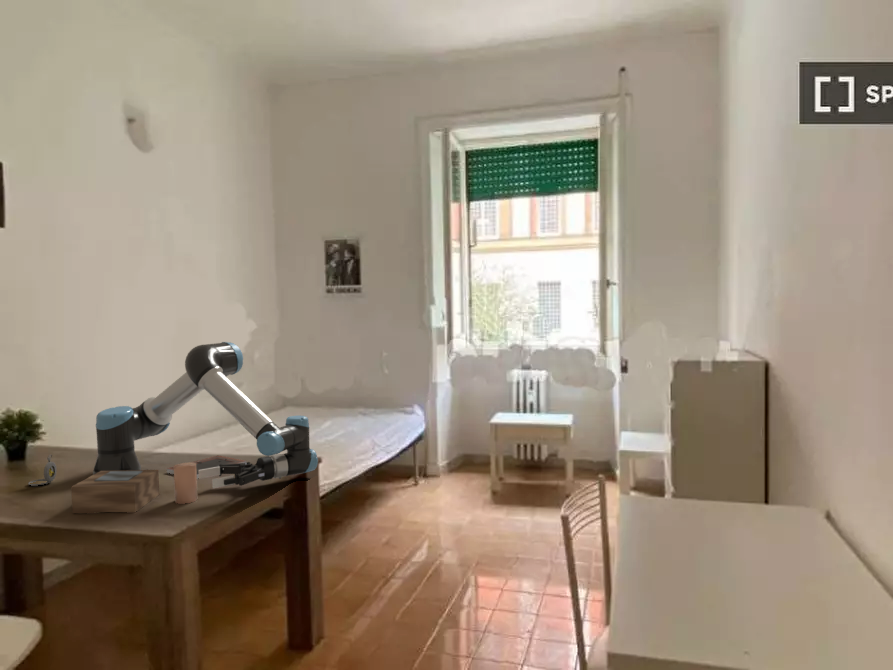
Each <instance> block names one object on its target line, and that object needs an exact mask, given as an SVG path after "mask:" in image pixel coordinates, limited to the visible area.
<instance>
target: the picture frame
mask: <svg viewBox="0 0 893 670" xmlns="http://www.w3.org/2000/svg"><path fill="white" fill-rule="evenodd" d="M189 463H196V471H197V480H198V478H199V470H201V469H207V468H213V467H219V465H220V464H235V463H247V460H243V459H237V458H232V457H228V456H222V455H214V456H210V457H207V458H202V459H198V460H195V461H190V462H189ZM223 470H224V468H223ZM166 473H167V474H169V473H170V475H173V474H174V466H170V467H167V468H166Z"/></svg>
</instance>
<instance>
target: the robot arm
mask: <svg viewBox="0 0 893 670" xmlns="http://www.w3.org/2000/svg"><path fill="white" fill-rule="evenodd" d="M243 364H244V356H243V352H242V350H241V348H240V347H239V346H238V345H237V344H235V343H233V342H231V341H230V342H228V341H222V342H216V343H208V344H200V345H196V346H194V347H193V348H192V349H190V350H189V352H188V353H187V355H186V357H185V361H184V367H185V371H186V372H185V373H184V374H182V375H181V376H180V377H178V378H177V379H176V380H175V381H174V382H173V383H171V384H170V385H168V386H167V388H166V389H164V390H163V391H162V392H160V393H159V394H158V395H157V396H155V397H153V396H152V397H148V398H146V399H145V401H143V402H142V403H140V405H138V406H136V407H132V406H129V405H120V406H119V405H118V406H115V407H109V408H106V409H104V410H101V411H100V412H98V413H97V415H96V419H95V420H96V421H95V430H96V431H95V432H96V444H97V445H96V447H97V448H96V449H97V457H96V461H95V464H94V467H93V471H92V475H94V474H96V473H98V472H100V471H120V470H142V466H141V463H140V460H139V458H138V455H137V454H136V451H135V441H138V440H142V439H146V438H150V437H154V436H155V437H156V436H158V435H160V434H162V433H164V432H165V431H167V429H168V428H169V427H170V424H171V423H170V422H171V420H172V419H173V415H174V414H175V413H176V412H178V410H180V409H181V408H183V407H184V406H185V405H187V403H188V402H190V401H192V399H194V398H195V397H196V396H197V395H198V394H200V393H201V392H202V391H203V390H204V391H206V392H207V393H208V394H209V395H210V396H211V397H212V398H213V399H214V400H215V401H217V403H218V404H219V405H220V406H221V407H222V408H224V409H225V411H227V413H228V414H230V415H231V416H232V417H233V419H235V420H236V421H237V422H238V423H239V424H240V425H241V426H242V427H243V428H244V429H245V430H246V431H247V432H248V433H249V434H250V435H252V436H253V437H254V439H256V448H257V449H258V452H259V453H260V454H262V455H263V456H261V457H258V458H257V459H256V463H255V464H254V463H251V462H249V461H248V462H247V461H246V463H235V464H220V465H219V467H213V468H207V469H201V470H199V480H200V479H207V478H211V477H216V478H211V488H212V489H218V488H223V487H227V486H233V485H236V486H238V485H239V486H241V487H242V486H244V485H246V484H250V483H252V482H255V481H258V480H260V481H262V482H263V481H268V480H272V479H279V480H281V479H282V477H283V478H284V477H288V476H295V475H300V474H305V473H311V472H312V471H315V470H316V469H317V467H318V464H319V460H318V459H319V458H318V454H317V452H316V451H315V450H314V449H313V448H310V424H309V423H310V422H309V417H307V416H306V415H289V416H287V418H285V419H286V420H285V425H283V426H281V427H279V426H278V425H277V424H276V423H275V422H274V421H273V420H271V418H269V417H268V416H267V414H266V413H265V412H264V411H262V410H261V409H260V408H259V407H258V406H257V405H256V403H254V402H253V400H251V399H250V398H249V397H248V396H247V395H246V394H245V393H244V392H243V391H242V390H240V388H239V387H237V385H236V384H235V383H233V382H232V381H231V380H230V379H229V378H228V376H233V375H235V374H237V373H239V372H240V371H241V370H242V369H243V368H242V367H243V366H244V365H243ZM284 451H286V452H285V453H282V452H284ZM223 468H224V470H223ZM223 475H228V476H223ZM217 476H219V477H217ZM222 476H223V477H222Z"/></svg>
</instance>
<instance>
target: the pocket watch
mask: <svg viewBox="0 0 893 670" xmlns="http://www.w3.org/2000/svg"><path fill="white" fill-rule="evenodd" d="M52 457H53V455H52V454H49V455H48V456H47V463H46V464H45V466H44V469H43V478H40V479H33V480H30V481H29V482H28V483H27V485H28V486H29V485H31V486H30V487H39V486H38V485H43V486H45V485H44V484H46V485H49V484H51V483H52V482H53V481H54V480H55V479H56V477H57V472H58V470H57V469H58V468H57V465H56V463H55V461H51V459H52ZM36 481H47V482H46V483H41V484H30V483H33V482H36ZM48 483H49V484H48Z"/></svg>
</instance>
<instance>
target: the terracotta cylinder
mask: <svg viewBox="0 0 893 670" xmlns="http://www.w3.org/2000/svg"><path fill="white" fill-rule="evenodd" d="M173 467H174V475H173V479H174V480H173V483H174V485H173V486H174V502H175V504H177V503H178V505H186V504H185V503H188V504H191V502H193V503H194V501H195V502H197V501H198V500H197V499H199V498H198V479H197V471H196V463H190V462H181V463H177V464H174V465H173ZM196 500H197V501H196Z"/></svg>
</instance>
